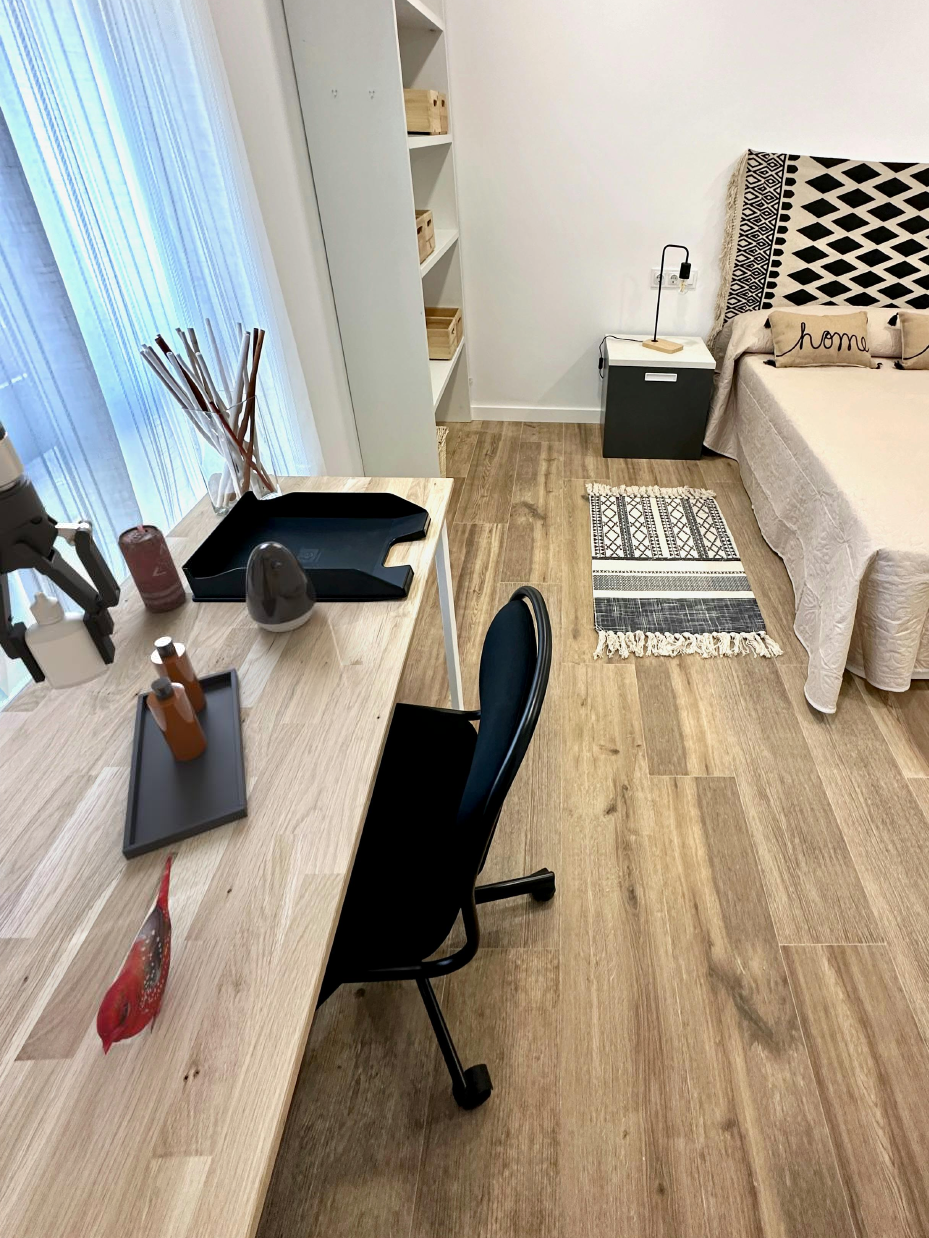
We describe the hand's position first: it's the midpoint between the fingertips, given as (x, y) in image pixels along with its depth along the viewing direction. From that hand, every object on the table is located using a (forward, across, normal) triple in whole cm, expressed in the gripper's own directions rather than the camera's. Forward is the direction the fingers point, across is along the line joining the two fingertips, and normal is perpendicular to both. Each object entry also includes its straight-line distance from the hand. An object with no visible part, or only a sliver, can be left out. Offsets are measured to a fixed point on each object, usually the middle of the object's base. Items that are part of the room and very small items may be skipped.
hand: (77, 664), depth 72 cm
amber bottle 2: (+17, +7, -1) cm, 18 cm away
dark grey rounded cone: (+18, +21, +21) cm, 34 cm away
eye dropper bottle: (+2, 0, 0) cm, 2 cm away
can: (+17, +3, +35) cm, 39 cm away
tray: (+17, +7, -2) cm, 19 cm away
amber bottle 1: (+17, +7, +7) cm, 19 cm away
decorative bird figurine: (+18, +5, -29) cm, 35 cm away
